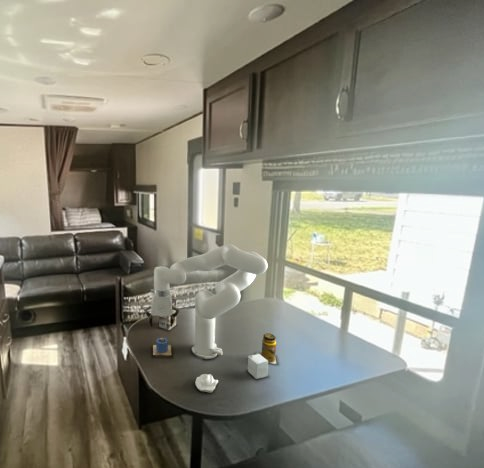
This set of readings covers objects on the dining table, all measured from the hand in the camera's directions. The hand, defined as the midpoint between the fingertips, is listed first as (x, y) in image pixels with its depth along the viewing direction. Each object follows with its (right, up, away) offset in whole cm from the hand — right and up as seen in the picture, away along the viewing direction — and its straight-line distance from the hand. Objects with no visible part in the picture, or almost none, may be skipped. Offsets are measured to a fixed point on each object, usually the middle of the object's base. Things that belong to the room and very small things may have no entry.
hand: (161, 325), depth 147 cm
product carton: (+41, -17, -15) cm, 47 cm away
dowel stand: (0, -14, +2) cm, 14 cm away
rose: (+17, -19, -23) cm, 34 cm away
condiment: (+50, -15, -4) cm, 52 cm away
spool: (0, -13, +2) cm, 13 cm away
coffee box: (+6, -10, +28) cm, 31 cm away
